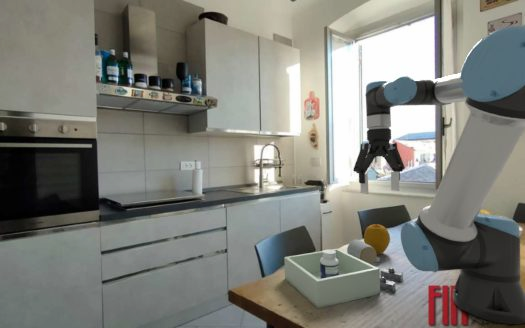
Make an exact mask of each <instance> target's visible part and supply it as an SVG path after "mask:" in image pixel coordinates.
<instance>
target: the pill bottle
mask: <svg viewBox="0 0 525 328" xmlns="http://www.w3.org/2000/svg"><path fill="white" fill-rule="evenodd" d="M321 251H322V256H323V257H322V258H321V260H320V273H321V279H323V278H328V277H333V276H338V275H339V262H338V259H337V258H335V257H336V251H334V250H332V249H323V250H321Z"/></svg>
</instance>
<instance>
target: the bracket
mask: <svg viewBox="0 0 525 328" xmlns="http://www.w3.org/2000/svg"><path fill="white" fill-rule="evenodd" d="M387 279H388V280H387ZM403 279H404V272H401V271H396V270H395V269H394V268H393V267H389V268H388V269H387V268H382V269H380V290H383V291H386V292H391V293H394V292H395V291H396V282H403ZM395 281H396V282H395Z"/></svg>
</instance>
